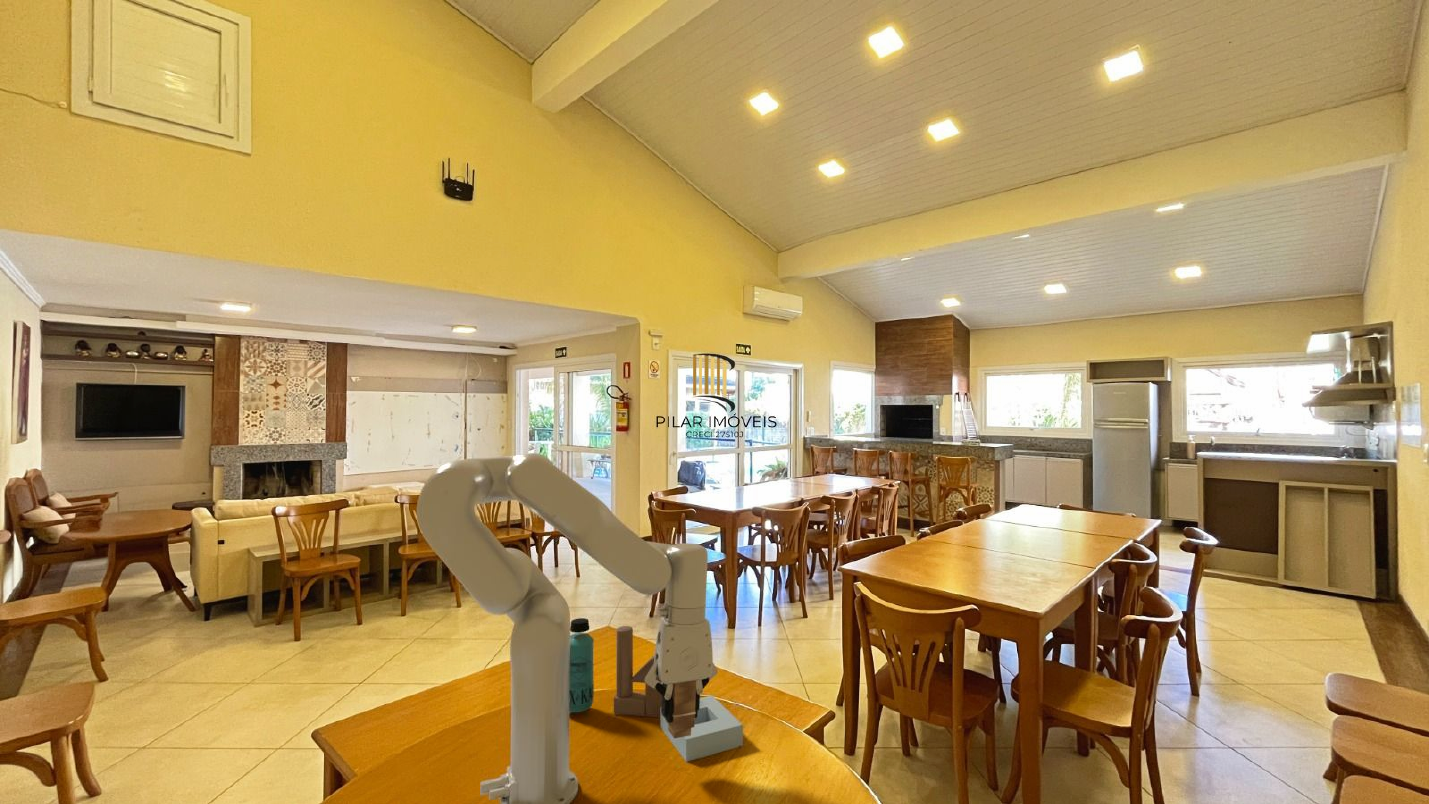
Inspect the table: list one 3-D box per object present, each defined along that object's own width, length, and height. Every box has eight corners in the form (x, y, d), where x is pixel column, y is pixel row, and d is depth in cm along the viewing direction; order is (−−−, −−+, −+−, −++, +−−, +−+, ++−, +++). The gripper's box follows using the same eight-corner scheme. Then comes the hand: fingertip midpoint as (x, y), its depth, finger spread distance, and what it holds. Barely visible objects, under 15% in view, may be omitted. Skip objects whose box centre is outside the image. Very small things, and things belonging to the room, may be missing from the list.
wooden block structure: (661, 718, 120) (660, 632, 121) (613, 715, 122) (613, 630, 123) (665, 710, 123) (664, 627, 125) (618, 707, 125) (618, 625, 126)
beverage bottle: (560, 710, 124) (560, 618, 125) (589, 703, 127) (590, 613, 129) (567, 723, 118) (567, 626, 120) (597, 715, 121) (598, 621, 123)
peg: (672, 740, 98) (675, 681, 99) (664, 729, 102) (667, 672, 102) (694, 736, 100) (697, 678, 100) (685, 725, 103) (688, 669, 104)
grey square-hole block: (686, 761, 104) (686, 739, 104) (660, 727, 116) (660, 707, 116) (742, 745, 109) (742, 724, 109) (712, 714, 121) (712, 695, 122)
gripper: (647, 624, 95) (642, 735, 94) (734, 615, 102) (730, 718, 101) (634, 611, 102) (629, 715, 101) (717, 604, 109) (713, 701, 108)
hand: (680, 715), depth 101 cm, fingers closed on peg, 4 cm apart
